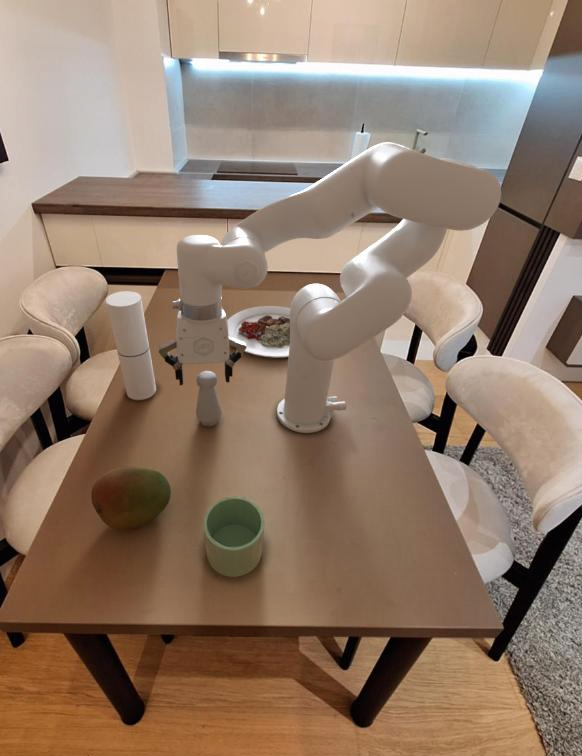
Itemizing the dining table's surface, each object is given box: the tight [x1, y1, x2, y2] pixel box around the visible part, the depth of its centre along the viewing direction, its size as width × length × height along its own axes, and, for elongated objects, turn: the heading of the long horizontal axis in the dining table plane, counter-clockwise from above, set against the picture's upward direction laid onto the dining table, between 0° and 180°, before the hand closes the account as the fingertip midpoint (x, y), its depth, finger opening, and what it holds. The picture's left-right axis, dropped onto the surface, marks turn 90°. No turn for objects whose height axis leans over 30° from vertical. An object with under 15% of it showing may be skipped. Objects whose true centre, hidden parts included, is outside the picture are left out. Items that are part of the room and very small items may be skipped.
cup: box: [202, 496, 265, 578], centre depth 65 cm, size 9×9×8 cm
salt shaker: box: [195, 370, 223, 427], centre depth 87 cm, size 6×6×13 cm
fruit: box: [90, 466, 172, 531], centre depth 69 cm, size 12×13×10 cm
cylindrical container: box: [105, 290, 157, 401], centre depth 92 cm, size 7×7×25 cm
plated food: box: [227, 305, 291, 359], centre depth 121 cm, size 30×30×3 cm
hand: (204, 379), depth 84 cm, fingers open, 9 cm apart
